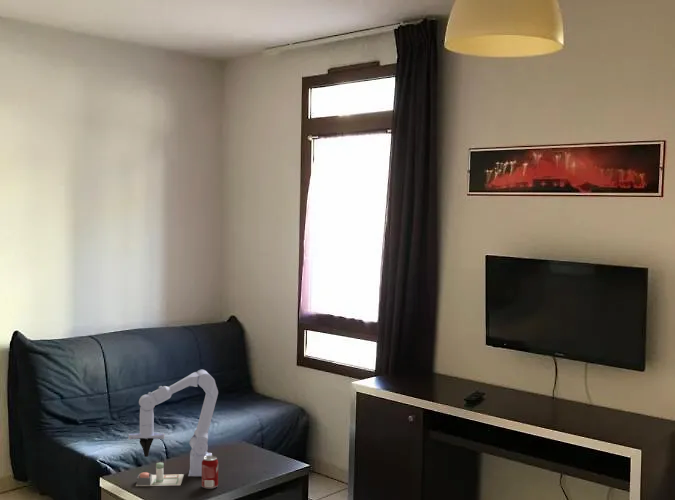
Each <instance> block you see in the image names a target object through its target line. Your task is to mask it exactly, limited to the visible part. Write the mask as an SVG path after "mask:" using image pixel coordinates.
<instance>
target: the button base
mask: <svg viewBox="0 0 675 500" xmlns="http://www.w3.org/2000/svg"><path fill="white" fill-rule="evenodd" d="M152 475H153V474H152V473H149V478H140V473H139V474H138V475H137V477H136V484H137V485H150V484H151V482H152Z"/></svg>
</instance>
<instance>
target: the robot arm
mask: <svg viewBox="0 0 675 500" xmlns="http://www.w3.org/2000/svg"><path fill="white" fill-rule="evenodd" d="M198 386H199V387H200V388H201V389H203V391H204V392H205V396H204V400H203V402H202V403H203V404H202V407H201V411H200V415H199V417H198V418H199V419H198V423H197V426H196V429H195V430H194V431H193V435H192V436H191V437H190V439H189V446H190V448H191V450H190V451H189V472H188V474H187V477H202V461H203V458H204V457H206V456H213V453H212V452H208V449H209V446H208V441H209V430H210V425H211V421H212V419H213V415H214V411H215V408H216V407H215V406H216V403H217V399H218V395H219V390H218V387H217V384H216V380H215V378H214V377H213V376H212V375H211V374H210V373H209V372H208V371H207V370H205V369H199V370H197V371H194V372H192V373H190V374H189V375H187V376H185V377H184V378H181V379H180V380H178V381H177V382H175V383H173V384H171V385H169V386H166V385H163V386H162V385H159V386H158V388H157V389H156V390H153V391H152V392H151V391H148V393H147V394H143V395H141V396H140V398H139V400H138V405H139V406H140V407H139V432H136V433H135V432H134V433H128V441H129V440H139V444H140V446H141V448H142V451H143V453H144V454H143V455H144V458H145V457H149V455H150V454H149V453H150V449H151V447H152V444H153V441H154V440H165V437H166V436H165V435H166V434H165V433H163V432H162V433H161V432H160V433H158V432H154V431H155V428H154V427H155V426H154V425H155V422H154V419H155V414H154V408H155V406H157V405H159V404H162V403H164V402H165V401H168V400H169V399H171V397H172V395H173V394H175V393H177V392H179V391H182V390H183V389H186V388H189V387H195V388H196V387H197V388H198Z"/></svg>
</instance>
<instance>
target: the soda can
mask: <svg viewBox="0 0 675 500" xmlns="http://www.w3.org/2000/svg"><path fill="white" fill-rule="evenodd" d="M218 486H219V460H218V457H217V456H215V455H212V456H206V457H204V458H203V461H202V476H201V487H202V488H204V489H206V490H212V489H215V488H216V487H217V488H218Z"/></svg>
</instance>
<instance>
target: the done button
mask: <svg viewBox="0 0 675 500" xmlns="http://www.w3.org/2000/svg"><path fill="white" fill-rule="evenodd" d="M139 474H140V478H149V474H150V472H148V471H145V472H141V473H139Z"/></svg>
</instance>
